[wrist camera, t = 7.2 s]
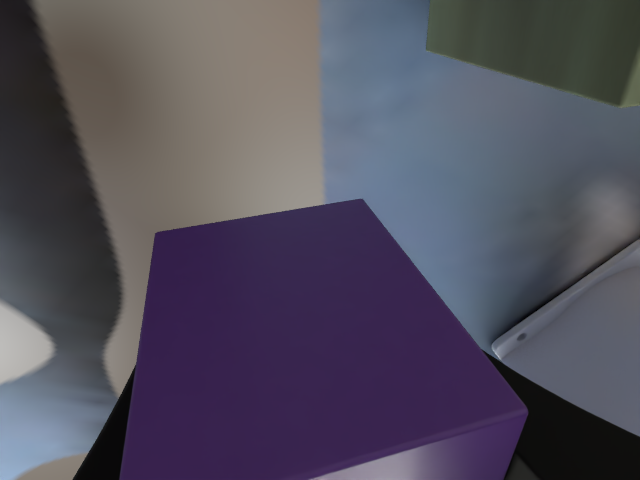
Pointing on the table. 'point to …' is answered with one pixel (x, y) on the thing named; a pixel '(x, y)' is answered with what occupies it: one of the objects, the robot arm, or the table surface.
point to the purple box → (308, 360)
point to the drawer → (546, 43)
